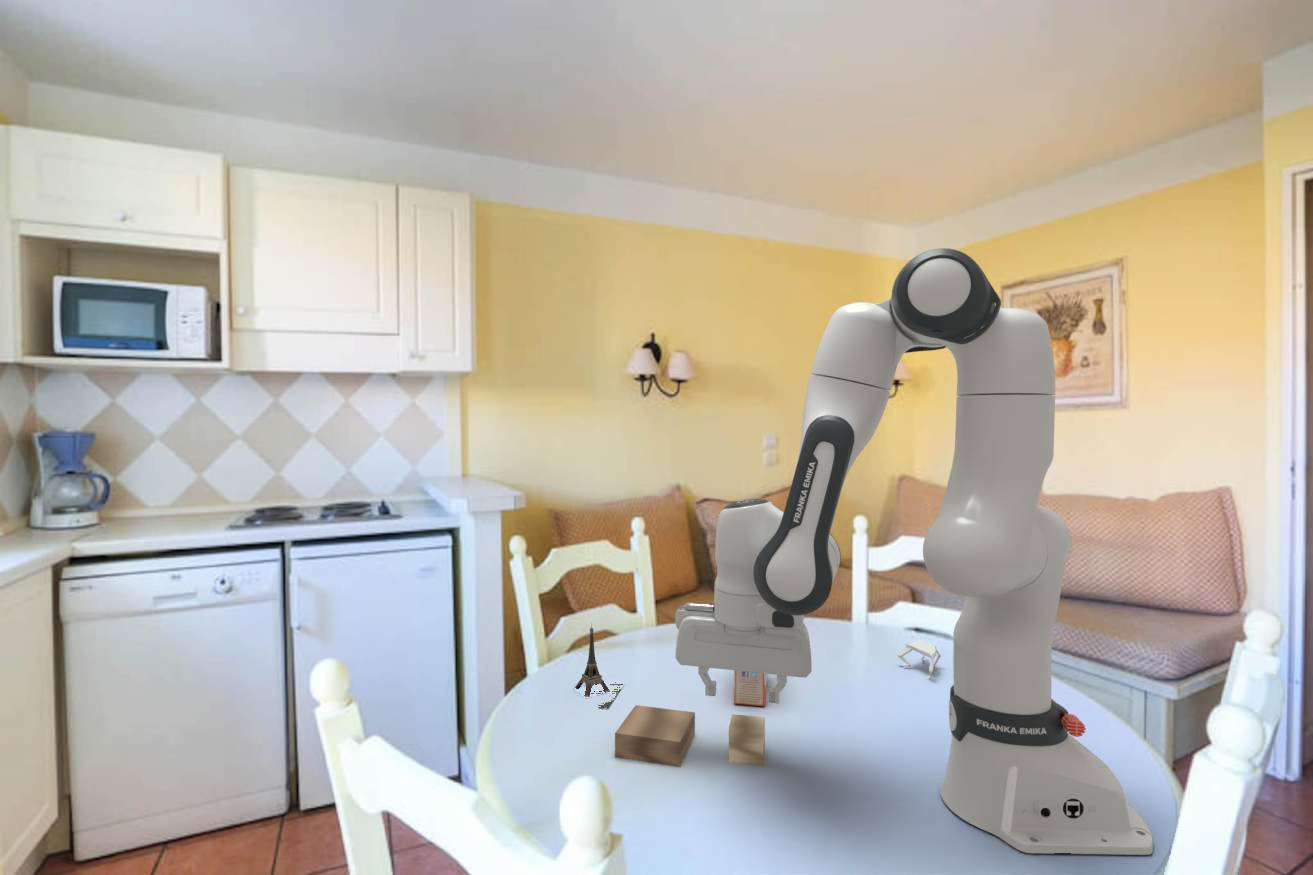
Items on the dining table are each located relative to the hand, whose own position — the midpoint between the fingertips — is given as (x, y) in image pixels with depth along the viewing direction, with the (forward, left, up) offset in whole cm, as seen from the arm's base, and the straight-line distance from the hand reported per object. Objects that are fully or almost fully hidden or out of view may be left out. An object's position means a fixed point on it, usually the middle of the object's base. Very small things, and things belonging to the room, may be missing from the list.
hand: (741, 698), depth 94 cm
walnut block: (+13, 0, -9) cm, 16 cm away
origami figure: (-33, -41, -9) cm, 53 cm away
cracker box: (0, -24, -9) cm, 25 cm away
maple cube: (-1, 0, -9) cm, 9 cm away
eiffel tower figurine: (+29, -18, -9) cm, 36 cm away
